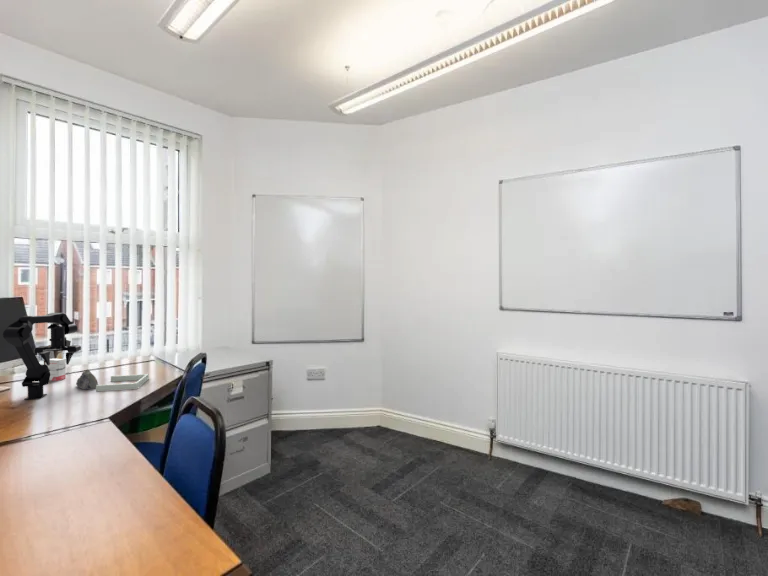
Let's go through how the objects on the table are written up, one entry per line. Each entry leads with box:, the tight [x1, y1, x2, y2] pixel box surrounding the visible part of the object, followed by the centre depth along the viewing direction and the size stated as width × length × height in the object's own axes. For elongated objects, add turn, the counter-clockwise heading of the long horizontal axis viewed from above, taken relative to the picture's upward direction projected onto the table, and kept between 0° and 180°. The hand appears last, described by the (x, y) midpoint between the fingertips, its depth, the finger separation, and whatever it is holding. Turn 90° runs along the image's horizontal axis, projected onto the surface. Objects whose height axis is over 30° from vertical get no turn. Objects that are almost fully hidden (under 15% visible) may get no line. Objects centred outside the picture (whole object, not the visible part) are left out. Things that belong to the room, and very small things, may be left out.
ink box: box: [45, 358, 67, 382], centre depth 218 cm, size 9×5×12 cm, turn 84°
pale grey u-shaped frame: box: [95, 373, 150, 392], centre depth 210 cm, size 19×19×3 cm
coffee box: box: [43, 344, 64, 365], centre depth 237 cm, size 9×6×16 cm
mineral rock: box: [75, 369, 99, 390], centre depth 205 cm, size 13×11×10 cm
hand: (58, 364), depth 202 cm, fingers open, 8 cm apart
